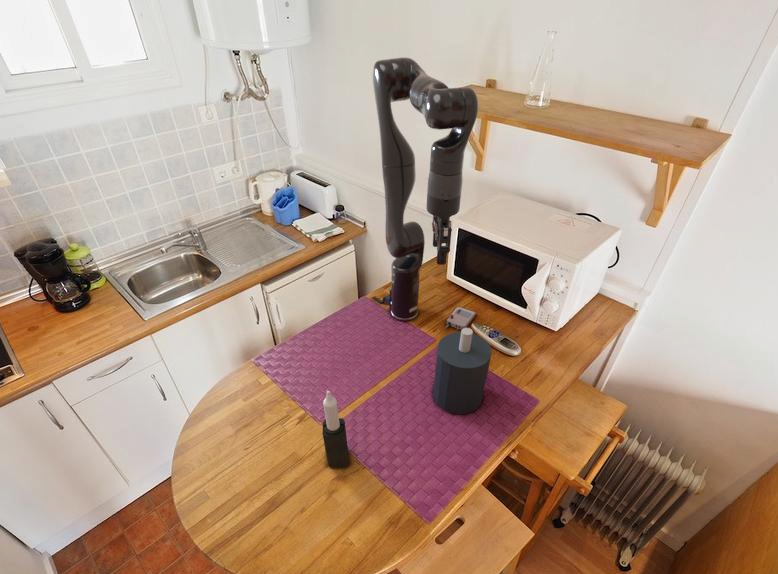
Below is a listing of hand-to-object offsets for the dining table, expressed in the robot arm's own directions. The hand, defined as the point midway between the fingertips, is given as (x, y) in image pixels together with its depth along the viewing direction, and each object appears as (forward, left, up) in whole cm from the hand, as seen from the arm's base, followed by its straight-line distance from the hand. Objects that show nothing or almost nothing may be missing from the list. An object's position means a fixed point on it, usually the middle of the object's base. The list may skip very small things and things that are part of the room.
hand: (439, 254), depth 106 cm
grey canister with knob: (+14, -3, -38) cm, 41 cm away
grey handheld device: (-8, +23, -38) cm, 45 cm away
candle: (+8, -41, -38) cm, 57 cm away
